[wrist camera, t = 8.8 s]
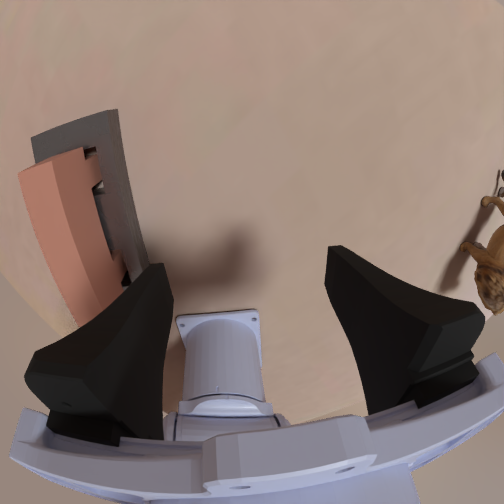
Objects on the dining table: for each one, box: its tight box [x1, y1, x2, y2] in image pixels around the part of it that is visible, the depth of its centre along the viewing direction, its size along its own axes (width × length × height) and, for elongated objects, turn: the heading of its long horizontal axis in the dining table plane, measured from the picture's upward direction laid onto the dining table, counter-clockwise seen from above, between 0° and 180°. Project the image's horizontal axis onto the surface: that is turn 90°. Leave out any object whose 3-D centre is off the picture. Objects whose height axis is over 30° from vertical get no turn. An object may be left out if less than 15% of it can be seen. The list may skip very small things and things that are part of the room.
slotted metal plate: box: [31, 109, 150, 291], centre depth 19 cm, size 16×7×2 cm, turn 3°
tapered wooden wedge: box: [18, 147, 127, 327], centre depth 17 cm, size 12×3×6 cm, turn 3°
